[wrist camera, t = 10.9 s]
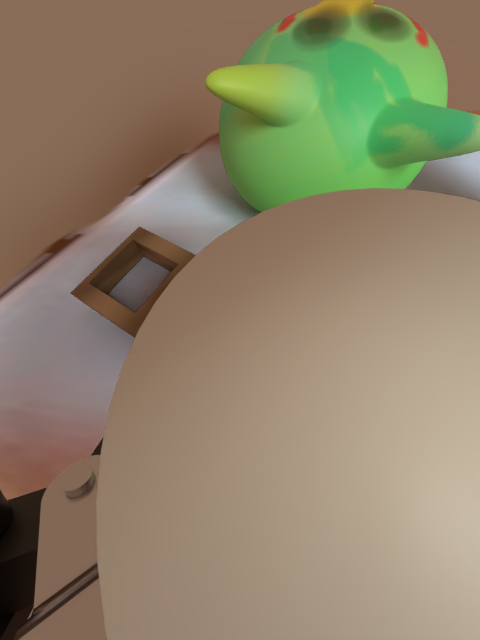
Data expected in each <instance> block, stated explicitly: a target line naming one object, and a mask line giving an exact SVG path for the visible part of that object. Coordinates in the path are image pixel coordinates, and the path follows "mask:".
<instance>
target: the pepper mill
mask: <svg viewBox="0 0 480 640" xmlns="http://www.w3.org/2000/svg"><path fill="white" fill-rule="evenodd" d="M96 509H97V564H98V572H99V581H100V589H101V597H102V605H103V613H104V622H105V630H106V636H107V640H480V201H477V200H473V199H469V198H465V197H460V196H454V195H448V194H442V193H437V192H431V191H420V190H410V189H390V188H368V189H354V190H342V191H336V192H329V193H323V194H317V195H313V196H309V197H305V198H301V199H298V200H294V201H290V202H287V203H285V204H282V205H279V206H277V207H274V208H271V209H269V210H266V211H263V212H261V213H259V214H257V215H255V216H253V217H251V218H249V219H247V220H245V221H243V222H241V223H240V224H238V225H237V226H235V227H233V228H232V229H230V230H229V231H227V232H226V233H224V234H223V235H221V236H219V237H218V238H217V239H215V240H214V241H213V242H212V243H210V244H209V245H208V246H207V247H205V248H204V249H203V250H202V251H201V252H199V253H198V254H197V255H196V256H195V257H194V258H193V259H192V260H191V261H190V262H189V263H188V264H187V265H186V266H185V267H184V268H183V269H182V270H181V271H180V272H179V273H178V274H177V275H176V276H175V277H174V279H173V280H172V281H171V282H170V284H169V285H168V286H167V288H166V289H165V290H164V292H163V293H162V294H161V295H160V297H159V298H158V299H157V301H156V302H155V304H154V305H153V307H152V309H151V310H150V312H149V314H148V315H147V317H146V319H145V320H144V322H143V324H142V325H141V327H140V329H139V330H138V332H137V335H136V337H135V339H134V341H133V344H132V346H131V348H130V350H129V352H128V355H127V357H126V359H125V361H124V364H123V366H122V369H121V372H120V375H119V379H118V382H117V385H116V388H115V391H114V394H113V397H112V401H111V404H110V408H109V413H108V418H107V423H106V428H105V433H104V438H103V443H102V448H101V457H100V468H99V479H98V490H97V502H96Z"/></svg>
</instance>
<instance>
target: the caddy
mask: <svg viewBox="0 0 480 640" xmlns="http://www.w3.org/2000/svg"><path fill="white" fill-rule="evenodd" d="M195 256H196V255H194V254H192V253H190V252H188V251H186V250H184V249H182V248H180V247H179V246H177V245H175V244H173V243H171V242H169V241H167V240H165V239H163V238H161V237H159V236H157V235H155V234H153V233H151V232H149V231H147V230H145V229H143V228H141V227H138V228H137V229H136V230H135V231H134V232H133V233H132V234H131V235H130V236H129V237H128V238H127V239H126V240H125V241H124V242H123V243H122V244H121V245H120V246H119V247H118V248H117V249H116V250H115V251H114V252H112V253H111V254H110V255H109V256H108V257H107V258H106V259H105V260H104V261H103V262H102V263H101V264H100V265H99V266H98V267H97V268H96V269H95V270H94V271H93V272H92V273H91V274H90V275H89V276H88V277H87V278H85V279H84V280H83V281H82V282H81V283H80V284H79V285H78V286H77V287H76V288H75V289H74V290H73V291H72V292H71V294H72V295H74V296H75V297H77V298H78V299H79V300H81V301H82V302H84V303H85V304H86V305H88V306H89V307H91V308H92V309H94V310H95V311H97V312H98V313H99V314H101V315H102V316H104V317H105V318H107V319H108V320H110V321H111V322H113V323H114V324H116V325H117V326H118V327H120V328H121V329H123V330H124V331H126V332H127V333H129V334H130V335H132V336H133V337H136V335H137V332H138V330H139V329H140V327H141V325H142V324H143V322H144V320H145V319H146V317H147V315H148V314H149V312H150V310H151V309H152V307H153V305H154V304H155V302H156V301H157V299H158V298H159V297H160V295H161V294H162V293H163V292H164V290H165V289H166V288H167V286H168V285H169V284H170V282H171V281H172V280H173V279H174V277H175V276H176V275H177V274H178V273H179V272H180V271H181V270H182V269H183V268H184V267H185V266H186V265H187V264H188V263H189V262H190V261H191V260H192V259H193V258H194V257H195ZM143 257H146V258H148V259H150V260H151V261H153V262H155V263H157V264H159V265H160V266H162V267H164V268H166V269H168V270H170V271H171V273H170V274H169V276H168V277H167V278H166V279H165V280H164V281H163V282H162V284H161V285H160V286H159V287H158V288H157V289H156V290H155V291H154V293H153V294H152V295H151V296H150V297H149V298H148V299H147V300H146V302H145V303H144V304H143V305H142V306H141V307H140V308H139V310H138V311H137V312H136V313H134V312H133V311H131V310H130V309H128V308H127V307H125V306H124V305H122V304H120V303H119V302H117V301H116V300H114V299H113V298H111V297H110V296H108V295H107V294H108V293H109V292H110V291H111V290H112V289H113V288H114V287H115V286H116V285H117V284H118V282H119V281H120V280H121V279H122V278H123V277H124V276H125V275H126V274H127V273H128V272H129V271H130V270H131V269H132V268H133V267H134V266H135V265H136V264H137V263H138V262H139V261H140V260H141V259H142V258H143Z"/></svg>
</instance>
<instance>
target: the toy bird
mask: <svg viewBox="0 0 480 640" xmlns="http://www.w3.org/2000/svg"><path fill="white" fill-rule="evenodd" d="M205 83H206V87H207V88H208V90H209V91H210V92H211V93H212V94H213V95H215V96H216V97H218V98H220V99H221V100H223V102H222V106H221V112H220V121H219V141H220V150H221V155H222V160H223V163H224V167H225V169H226V172H227V174H228V177H229V179H230V181H231V182H232V184H233V186H234V187H235V189H236V190H237V192H238V193H239V194H240V195H241V196H242V198H243V199H244V200H245V201H246V202H247V203H249V204H250V205H251V206H252V207H254V208H255V209H256V210H258V211H259V212H263V211H266V210H269V209H271V208H274V207H277V206H279V205H282V204H285V203H287V202H290V201H294V200H298V199H301V198H305V197H309V196H313V195H317V194H323V193H329V192H336V191H342V190H354V189H368V188H390V189H405V188H406V187H407V186H408V185H409V184H410V183H411V182H412V181H413V180H414V178H415V177H416V176H417V175H418V173H419V172H420V171H421V169H422V168H423V166H424V165H425V163H426V162H427V161H430V160H436V159H442V158H448V157H454V156H459V155H464V154H469V153H473V152H476V151H480V115H476V114H473V113H469V112H464V111H460V110H455V109H450V108H446V106H447V96H448V84H447V75H446V69H445V65H444V62H443V59H442V56H441V54H440V51H439V49H438V47H437V46H436V44H435V42H434V41H433V40H432V38H431V37H430V36H429V34H428V33H427V32H426V31H425V30H424V29H423V28H422V27H421V26H420V25H419V24H417V23H416V22H415V21H413V20H412V19H410V18H409V17H407V16H405V15H403V14H402V13H400V12H398V11H396V10H394V9H391V8H389V7H386V6H383V5H379V4H375V3H373V0H323V1H321V2H320V3H319V4H318V5H317V6H314V7H311V8H308V9H305V10H302V11H299V12H297V13H295V14H292V15H290V16H288V17H286V18H284V19H283V20H281V21H279V22H278V23H276V24H275V25H273V26H272V27H271V28H269V29H268V30H267V31H265V32H264V33H263V34H262V35H261V36H260V37H259V38H258V39H257V40H256V41H255V42H254V43H253V44H252V45H251V46H250V47H249V48H248V50H247V51H246V52H245V53H244V55H243V56H242V58H241V59H240V61H239V62H238V64H237V66H229V67H224V68H220V69H217V70H215V71H212V72H211V73H210V74H209V75H208V76H207V77H206V81H205Z"/></svg>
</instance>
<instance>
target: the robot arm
mask: <svg viewBox="0 0 480 640" xmlns="http://www.w3.org/2000/svg"><path fill="white" fill-rule="evenodd" d="M103 438H104V437H103ZM102 443H103V439H102V440H101V442H100V443H99V445H98V446H97V448H96V449H95V451H94V452H93V454H92V455H91V456H88V457H86V458H83V459H81V460H78V461H76V462H75V463H73V464H71V465H70V466H68V467H67V468H66V469H64V470H63V471H62V472H61V473H60V474H58V475H57V476H56V477H55V479H54V480H53V481H52V482H51V483H50V485H49V486H48V487H47V488H44V489H41V490H38V491H35V492H32V493H29V494H26V495H23V496H20V497H17V498H14V499H11V500H8V501H7V500H6V498H5V497H4V495H3V494H2V492H1V491H0V640H107V636H106V630H105V622H104V613H103V605H102V597H101V589H100V581H99V572H98V564H97V509H96V502H97V490H98V479H99V468H100V457H101V448H102ZM32 609H33V612H32V615H31V617H30V618H29V619H28V617H29V615H30V613H31V611H32ZM27 619H28V620H27Z"/></svg>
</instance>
